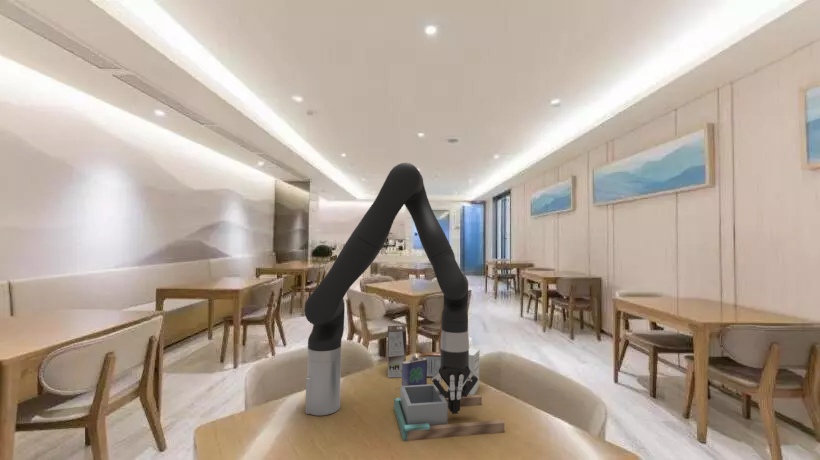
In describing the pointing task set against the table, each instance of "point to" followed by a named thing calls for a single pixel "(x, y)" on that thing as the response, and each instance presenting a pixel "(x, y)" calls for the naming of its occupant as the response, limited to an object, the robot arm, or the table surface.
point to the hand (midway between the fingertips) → (454, 412)
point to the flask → (414, 371)
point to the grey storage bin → (423, 405)
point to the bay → (448, 429)
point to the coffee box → (396, 350)
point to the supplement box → (474, 367)
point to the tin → (432, 362)
